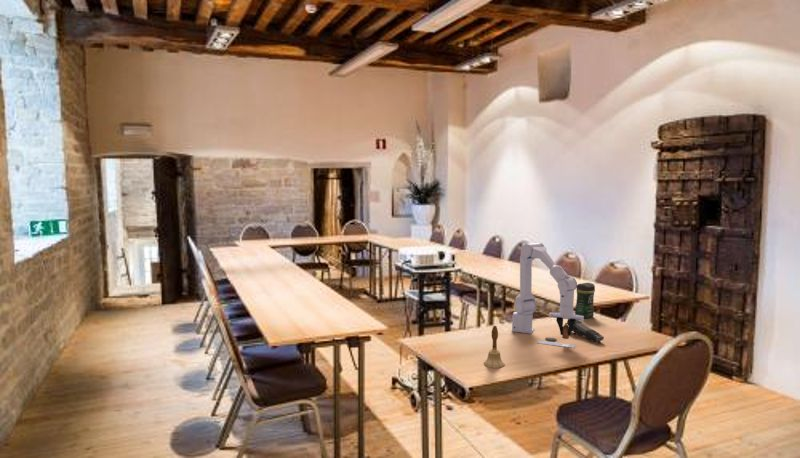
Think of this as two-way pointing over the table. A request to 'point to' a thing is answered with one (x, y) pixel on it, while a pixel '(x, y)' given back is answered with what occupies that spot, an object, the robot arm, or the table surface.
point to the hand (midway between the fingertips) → (565, 334)
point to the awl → (565, 331)
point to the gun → (586, 331)
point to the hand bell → (494, 352)
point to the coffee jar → (585, 300)
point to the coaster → (551, 339)
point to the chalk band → (556, 344)
